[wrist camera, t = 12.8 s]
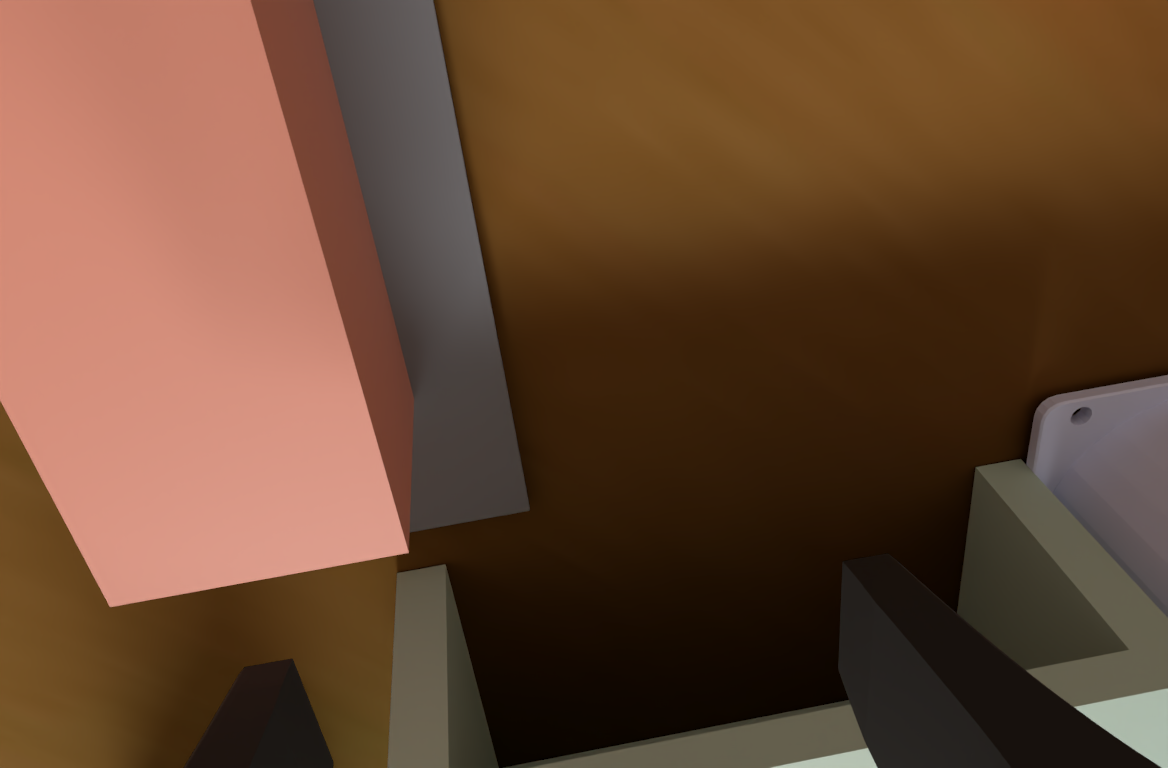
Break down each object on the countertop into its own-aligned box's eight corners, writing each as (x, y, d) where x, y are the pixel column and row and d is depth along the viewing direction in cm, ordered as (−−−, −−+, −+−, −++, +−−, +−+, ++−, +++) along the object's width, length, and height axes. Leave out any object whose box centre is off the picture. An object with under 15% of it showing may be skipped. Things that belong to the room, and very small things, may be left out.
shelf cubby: (1020, 458, 24) (1222, 677, 18) (983, 695, 29) (1132, 932, 22) (397, 573, 23) (383, 844, 17) (464, 797, 28) (472, 1074, 22)
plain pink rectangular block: (220, -366, 13) (120, -455, 9) (414, 398, 20) (408, 552, 16) (-142, -321, 13) (-420, -391, 9) (179, 439, 20) (110, 607, 16)
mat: (336, -510, 13) (334, -519, 13) (528, 500, 22) (530, 510, 22) (-337, -430, 13) (-358, -438, 12) (149, 568, 22) (144, 580, 22)
